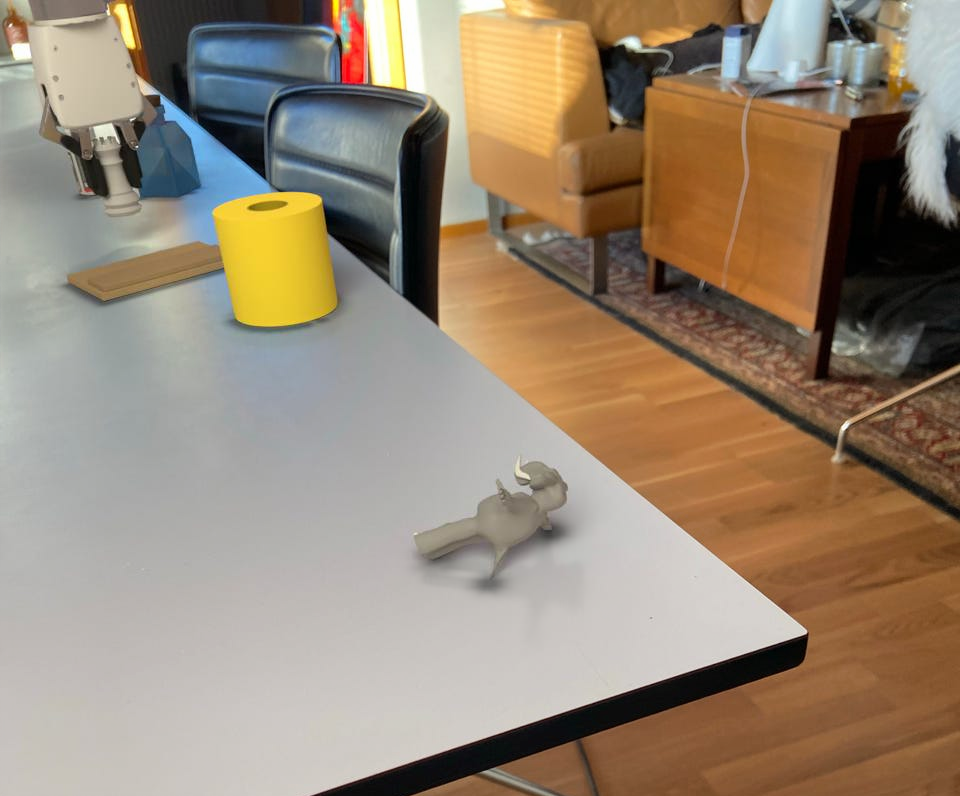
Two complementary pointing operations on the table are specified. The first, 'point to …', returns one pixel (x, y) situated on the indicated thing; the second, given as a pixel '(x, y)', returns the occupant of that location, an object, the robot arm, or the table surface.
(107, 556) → the table surface
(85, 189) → the pill bottle
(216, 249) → the wooden board
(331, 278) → the yellow toilet paper roll
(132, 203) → the rook chess piece
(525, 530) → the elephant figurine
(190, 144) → the perfume bottle
